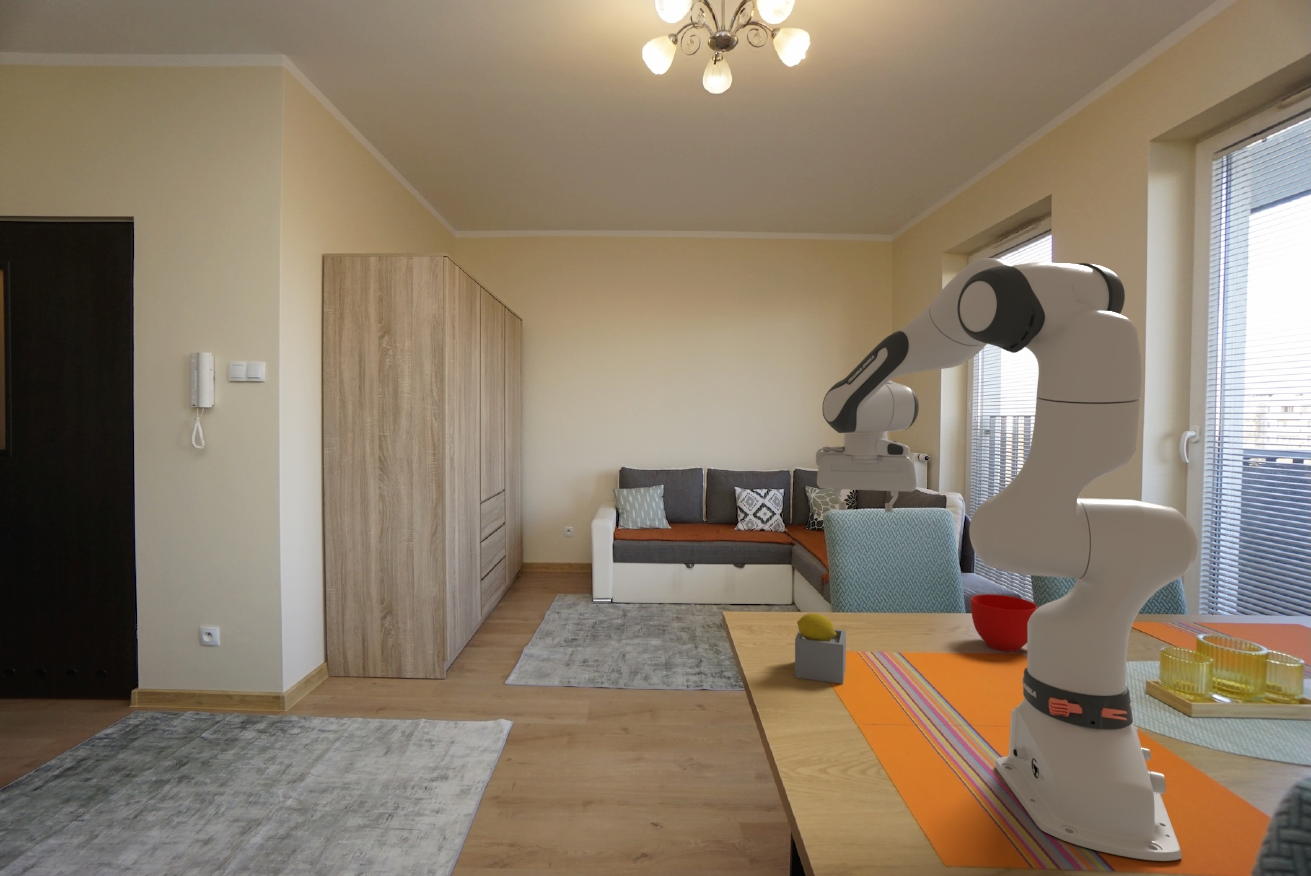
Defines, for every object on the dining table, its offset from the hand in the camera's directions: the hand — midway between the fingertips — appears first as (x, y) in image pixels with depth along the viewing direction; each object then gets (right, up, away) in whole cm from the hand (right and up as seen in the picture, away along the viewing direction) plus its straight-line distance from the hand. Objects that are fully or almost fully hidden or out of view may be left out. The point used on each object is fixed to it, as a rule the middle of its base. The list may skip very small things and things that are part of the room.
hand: (865, 511), depth 129 cm
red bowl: (+35, -31, +5) cm, 47 cm away
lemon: (-9, -24, -10) cm, 27 cm away
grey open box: (-12, -31, -9) cm, 35 cm away
